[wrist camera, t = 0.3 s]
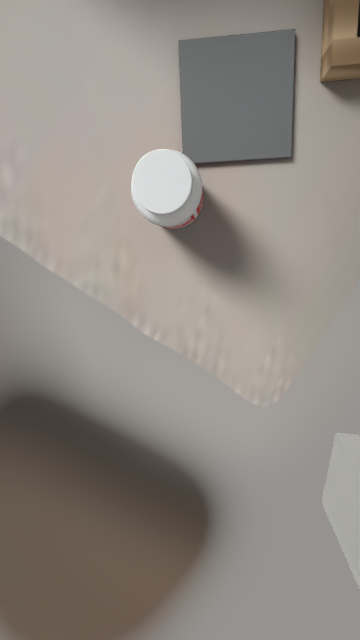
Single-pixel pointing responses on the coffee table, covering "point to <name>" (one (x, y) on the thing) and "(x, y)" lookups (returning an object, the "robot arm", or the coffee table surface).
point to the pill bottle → (167, 188)
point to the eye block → (340, 41)
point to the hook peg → (359, 29)
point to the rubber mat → (237, 96)
